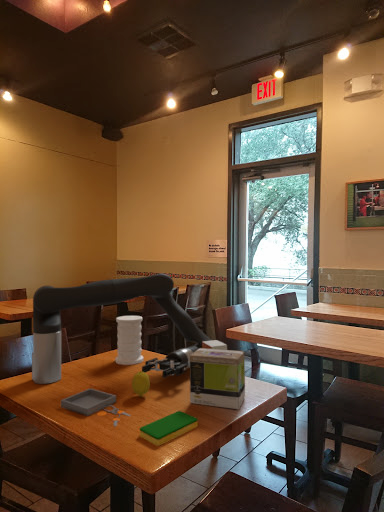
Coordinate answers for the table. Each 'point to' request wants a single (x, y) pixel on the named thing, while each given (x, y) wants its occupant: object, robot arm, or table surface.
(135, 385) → the lemon
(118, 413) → the key chain
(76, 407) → the tray
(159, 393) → the table surface
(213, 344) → the small box
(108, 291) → the robot arm
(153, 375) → the table surface
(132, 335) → the decorative container
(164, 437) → the dish sponge
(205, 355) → the tea box
